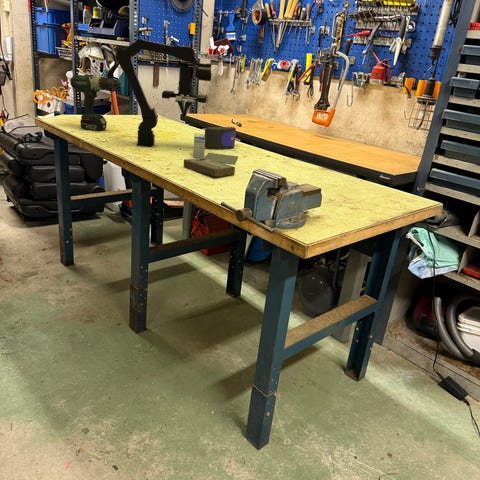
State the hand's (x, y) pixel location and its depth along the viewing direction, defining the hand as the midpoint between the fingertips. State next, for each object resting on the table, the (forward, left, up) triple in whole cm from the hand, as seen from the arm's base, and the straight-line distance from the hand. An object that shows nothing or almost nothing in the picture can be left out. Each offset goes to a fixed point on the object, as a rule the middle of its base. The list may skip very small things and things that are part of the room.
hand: (184, 117), depth 184 cm
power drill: (-43, +21, -13) cm, 50 cm away
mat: (+17, -14, -13) cm, 26 cm away
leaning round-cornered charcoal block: (+16, +8, -13) cm, 22 cm away
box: (+14, -35, -14) cm, 40 cm away
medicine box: (+8, -13, -13) cm, 20 cm away
